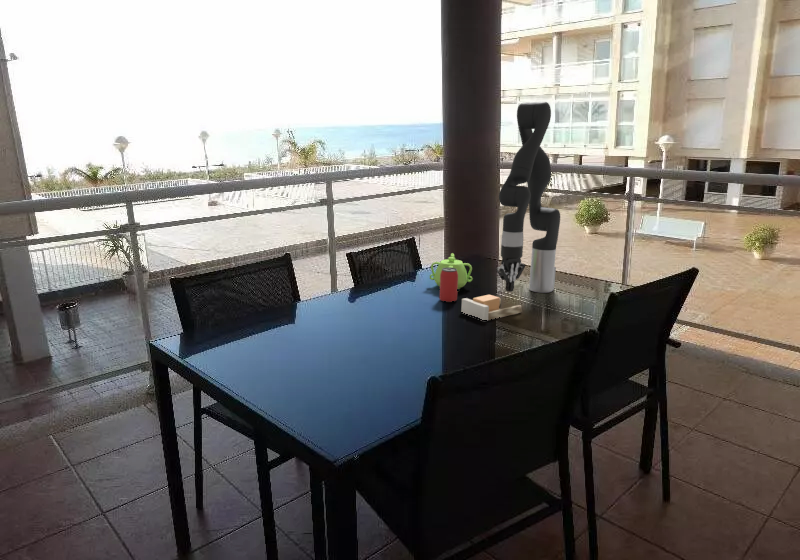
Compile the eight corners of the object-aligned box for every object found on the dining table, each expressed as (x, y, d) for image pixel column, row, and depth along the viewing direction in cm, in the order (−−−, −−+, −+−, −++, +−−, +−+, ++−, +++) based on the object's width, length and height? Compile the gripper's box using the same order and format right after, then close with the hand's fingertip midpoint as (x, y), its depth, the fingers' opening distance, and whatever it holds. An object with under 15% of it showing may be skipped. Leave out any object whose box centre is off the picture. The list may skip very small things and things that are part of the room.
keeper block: (488, 310, 207) (489, 294, 205) (498, 314, 203) (499, 297, 202) (472, 314, 202) (473, 298, 201) (482, 318, 198) (483, 301, 197)
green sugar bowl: (423, 285, 239) (424, 255, 236) (451, 280, 246) (452, 251, 243) (446, 294, 226) (447, 262, 223) (475, 289, 233) (476, 259, 230)
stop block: (465, 311, 205) (466, 298, 204) (488, 320, 196) (488, 306, 195) (461, 312, 204) (461, 298, 202) (483, 321, 195) (484, 307, 193)
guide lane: (498, 304, 214) (498, 298, 213) (521, 312, 205) (521, 305, 204) (465, 311, 205) (465, 304, 204) (488, 320, 196) (488, 313, 195)
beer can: (457, 298, 221) (458, 267, 218) (456, 303, 215) (458, 271, 212) (439, 297, 222) (440, 266, 219) (439, 302, 215) (440, 270, 212)
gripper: (517, 239, 209) (514, 285, 214) (490, 244, 202) (488, 291, 207) (533, 243, 203) (530, 290, 208) (506, 247, 196) (503, 296, 201)
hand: (509, 291), depth 207 cm, fingers closed
